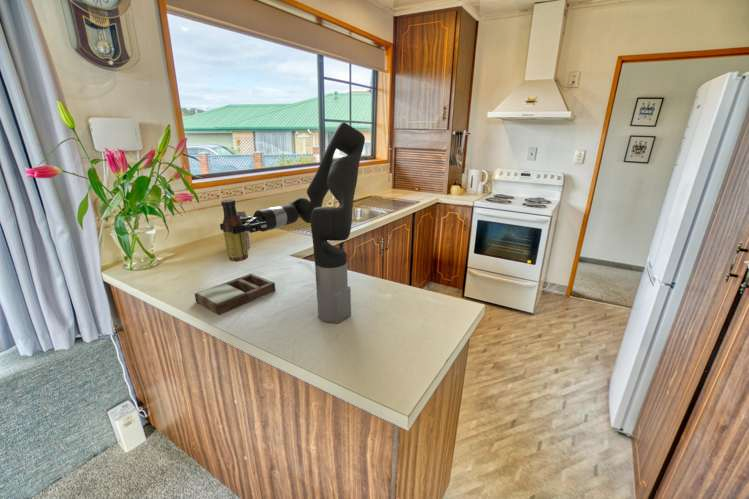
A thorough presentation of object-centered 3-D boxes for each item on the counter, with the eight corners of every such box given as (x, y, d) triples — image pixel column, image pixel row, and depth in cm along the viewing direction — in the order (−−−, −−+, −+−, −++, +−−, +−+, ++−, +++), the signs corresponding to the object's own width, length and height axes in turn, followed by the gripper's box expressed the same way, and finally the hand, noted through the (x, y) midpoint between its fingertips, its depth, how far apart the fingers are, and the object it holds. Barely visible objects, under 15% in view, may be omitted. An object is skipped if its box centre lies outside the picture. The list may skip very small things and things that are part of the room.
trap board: (275, 290, 120) (274, 282, 119) (218, 314, 104) (217, 305, 103) (251, 280, 128) (250, 272, 127) (196, 301, 112) (194, 292, 111)
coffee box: (235, 243, 170) (230, 212, 165) (248, 242, 173) (245, 211, 167) (236, 249, 162) (231, 216, 157) (250, 247, 165) (246, 215, 159)
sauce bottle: (241, 254, 118) (233, 197, 111) (252, 258, 114) (244, 199, 108) (223, 260, 113) (214, 200, 106) (234, 264, 110) (225, 203, 103)
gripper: (257, 205, 124) (212, 214, 111) (282, 210, 115) (237, 221, 103) (259, 225, 126) (216, 236, 114) (284, 232, 118) (240, 244, 105)
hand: (226, 229), depth 108 cm, fingers closed on sauce bottle, 6 cm apart
